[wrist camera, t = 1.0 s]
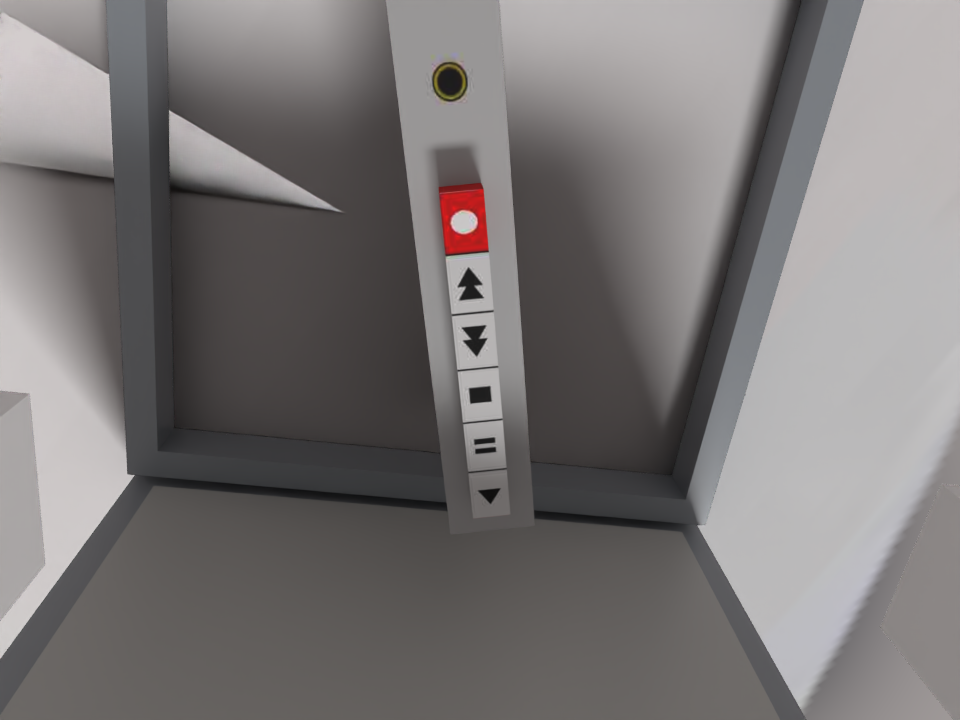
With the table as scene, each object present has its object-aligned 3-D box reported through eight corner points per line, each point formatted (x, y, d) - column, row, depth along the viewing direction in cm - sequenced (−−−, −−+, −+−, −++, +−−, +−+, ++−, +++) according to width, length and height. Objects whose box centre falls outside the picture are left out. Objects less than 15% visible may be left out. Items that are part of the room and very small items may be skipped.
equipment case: (124, -192, 23) (-722, -880, 6) (852, -61, 25) (1651, -301, 9) (146, 479, 32) (-172, 937, 15) (682, 527, 34) (914, 964, 18)
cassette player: (401, 11, 26) (381, -19, 16) (478, 4, 26) (500, -29, 16) (446, 409, 31) (451, 554, 22) (509, 403, 32) (538, 545, 22)
